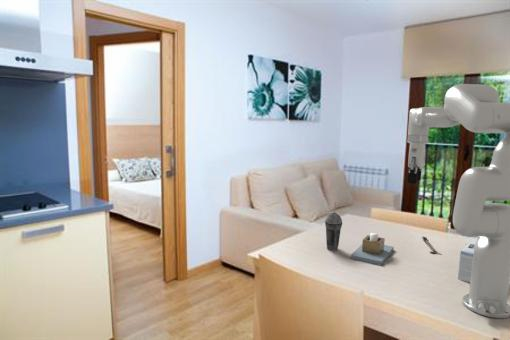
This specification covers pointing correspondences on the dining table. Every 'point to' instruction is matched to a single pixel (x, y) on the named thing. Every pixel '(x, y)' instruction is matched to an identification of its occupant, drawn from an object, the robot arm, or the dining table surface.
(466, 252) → the light bulb box
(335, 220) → the beverage cup
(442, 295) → the dining table surface
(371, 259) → the post board
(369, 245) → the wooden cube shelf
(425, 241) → the tactical tomahawk
